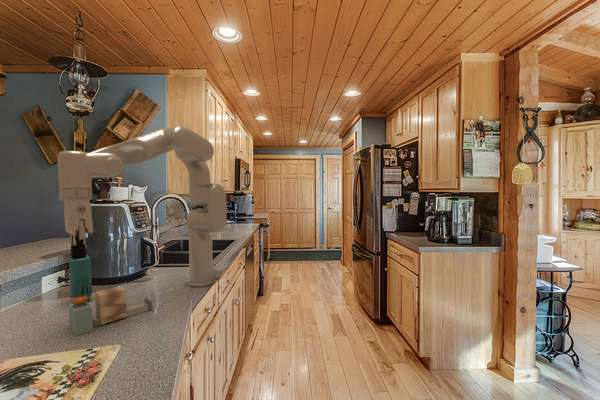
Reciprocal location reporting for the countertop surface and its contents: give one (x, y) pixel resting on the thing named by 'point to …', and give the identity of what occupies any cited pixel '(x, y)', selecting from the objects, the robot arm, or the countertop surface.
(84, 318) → the grey-green rectangular block
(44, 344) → the countertop surface
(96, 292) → the light wood block
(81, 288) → the beverage bottle
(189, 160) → the robot arm
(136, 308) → the rail
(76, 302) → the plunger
